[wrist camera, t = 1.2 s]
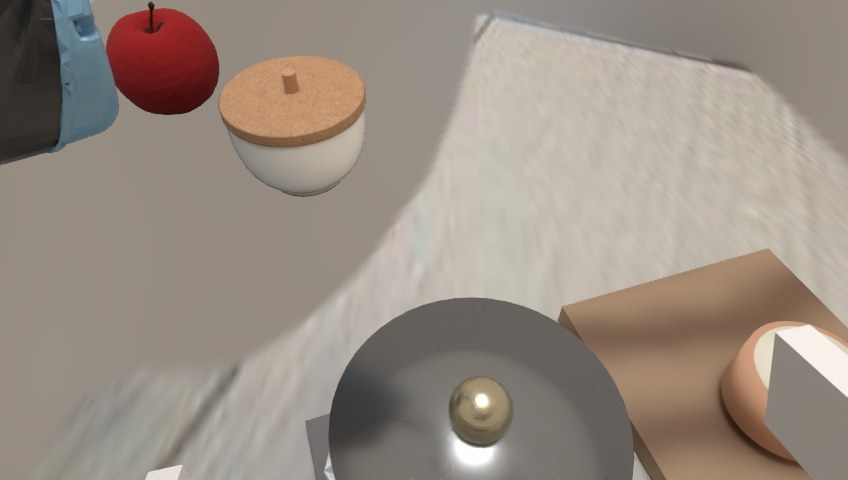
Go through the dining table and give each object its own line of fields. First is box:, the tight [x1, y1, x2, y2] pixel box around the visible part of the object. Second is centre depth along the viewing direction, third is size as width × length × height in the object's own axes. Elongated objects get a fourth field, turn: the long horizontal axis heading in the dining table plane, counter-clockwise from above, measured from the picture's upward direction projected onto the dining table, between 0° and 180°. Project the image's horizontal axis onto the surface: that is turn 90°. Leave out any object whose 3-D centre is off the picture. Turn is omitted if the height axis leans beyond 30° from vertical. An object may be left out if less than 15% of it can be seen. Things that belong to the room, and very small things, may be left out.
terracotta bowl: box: [721, 321, 848, 461], centre depth 29 cm, size 6×6×4 cm
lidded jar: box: [219, 56, 366, 197], centre depth 44 cm, size 11×11×9 cm
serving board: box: [558, 249, 848, 480], centre depth 32 cm, size 20×16×2 cm
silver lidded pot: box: [324, 298, 634, 480], centre depth 24 cm, size 11×11×12 cm
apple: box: [106, 2, 219, 115], centre depth 50 cm, size 9×9×10 cm
